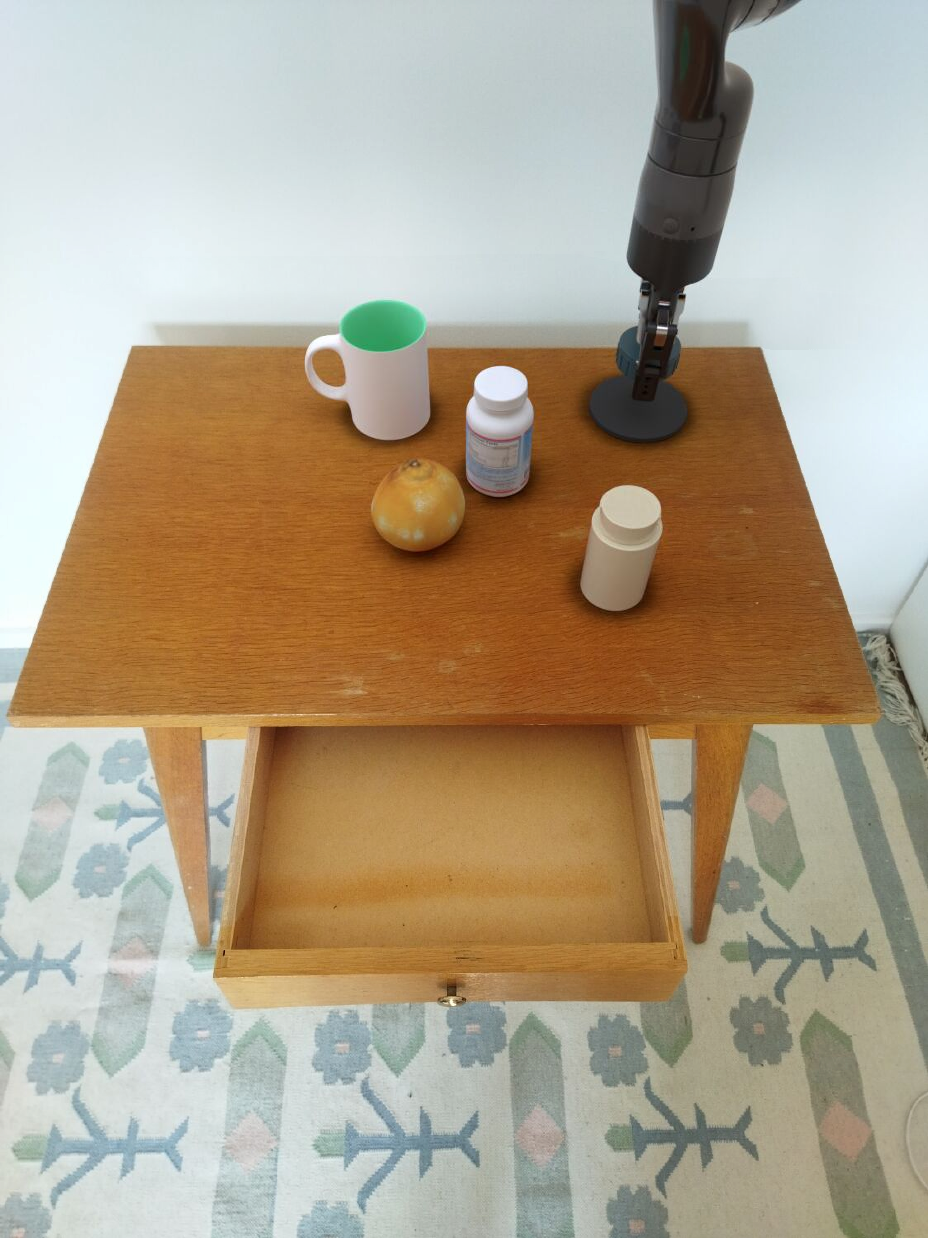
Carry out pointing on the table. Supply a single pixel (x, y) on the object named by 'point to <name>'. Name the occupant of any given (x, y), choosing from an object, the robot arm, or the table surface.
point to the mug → (380, 368)
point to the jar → (621, 547)
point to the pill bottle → (499, 432)
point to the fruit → (418, 505)
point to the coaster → (637, 411)
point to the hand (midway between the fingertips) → (643, 377)
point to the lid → (630, 352)
